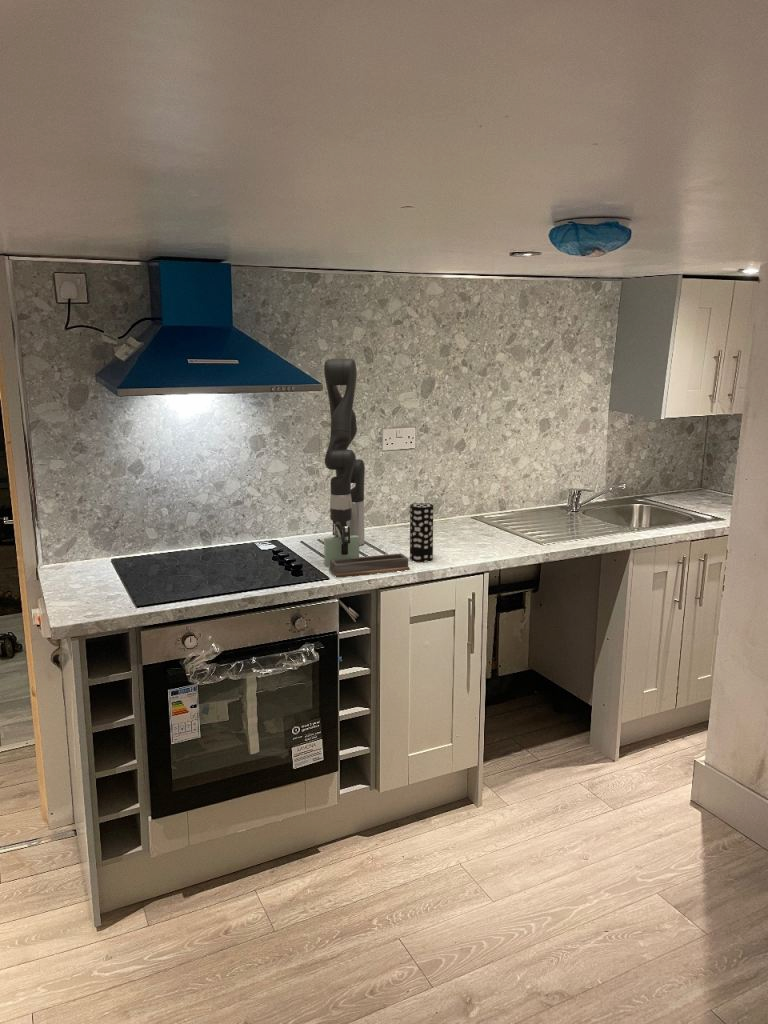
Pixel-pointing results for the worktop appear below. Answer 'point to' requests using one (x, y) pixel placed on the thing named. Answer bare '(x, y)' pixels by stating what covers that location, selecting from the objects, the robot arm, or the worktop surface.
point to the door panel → (334, 549)
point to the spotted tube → (421, 532)
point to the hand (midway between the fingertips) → (341, 551)
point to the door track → (369, 565)
